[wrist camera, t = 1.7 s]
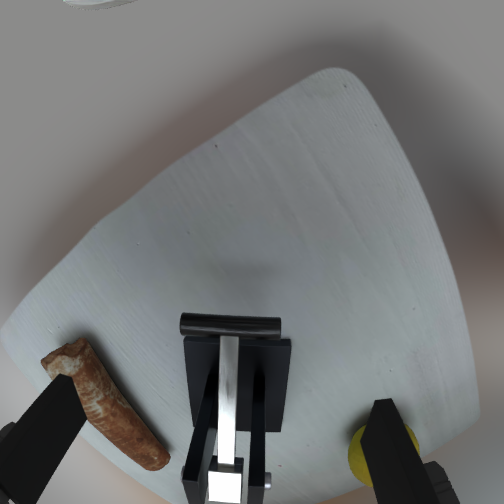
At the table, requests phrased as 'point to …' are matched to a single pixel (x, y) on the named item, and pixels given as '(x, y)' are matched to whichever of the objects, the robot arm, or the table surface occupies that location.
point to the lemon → (358, 459)
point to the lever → (228, 390)
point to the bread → (106, 404)
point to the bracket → (248, 407)
